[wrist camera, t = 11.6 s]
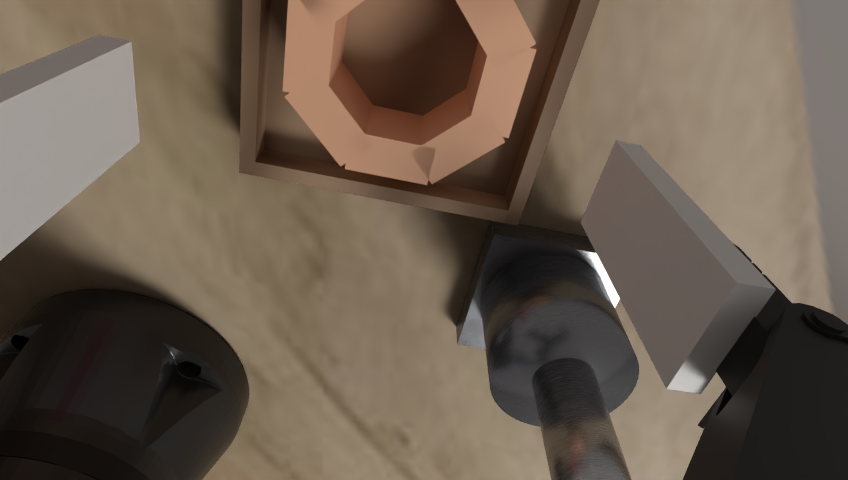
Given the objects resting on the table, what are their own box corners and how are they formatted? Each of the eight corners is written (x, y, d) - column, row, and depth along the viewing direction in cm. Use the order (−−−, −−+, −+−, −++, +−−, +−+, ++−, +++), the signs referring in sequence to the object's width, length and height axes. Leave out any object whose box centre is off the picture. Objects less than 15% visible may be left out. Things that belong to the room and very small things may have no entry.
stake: (456, 326, 32) (472, 627, 19) (491, 219, 28) (544, 508, 15) (578, 347, 33) (675, 649, 20) (630, 245, 29) (800, 542, 16)
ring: (315, -100, 20) (294, -99, 17) (544, -43, 20) (562, -34, 18) (296, 125, 24) (278, 156, 21) (483, 162, 25) (489, 197, 22)
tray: (254, 150, 26) (239, 172, 24) (266, -184, 19) (246, -195, 17) (511, 200, 28) (517, 225, 25) (612, -94, 20) (633, -94, 18)
